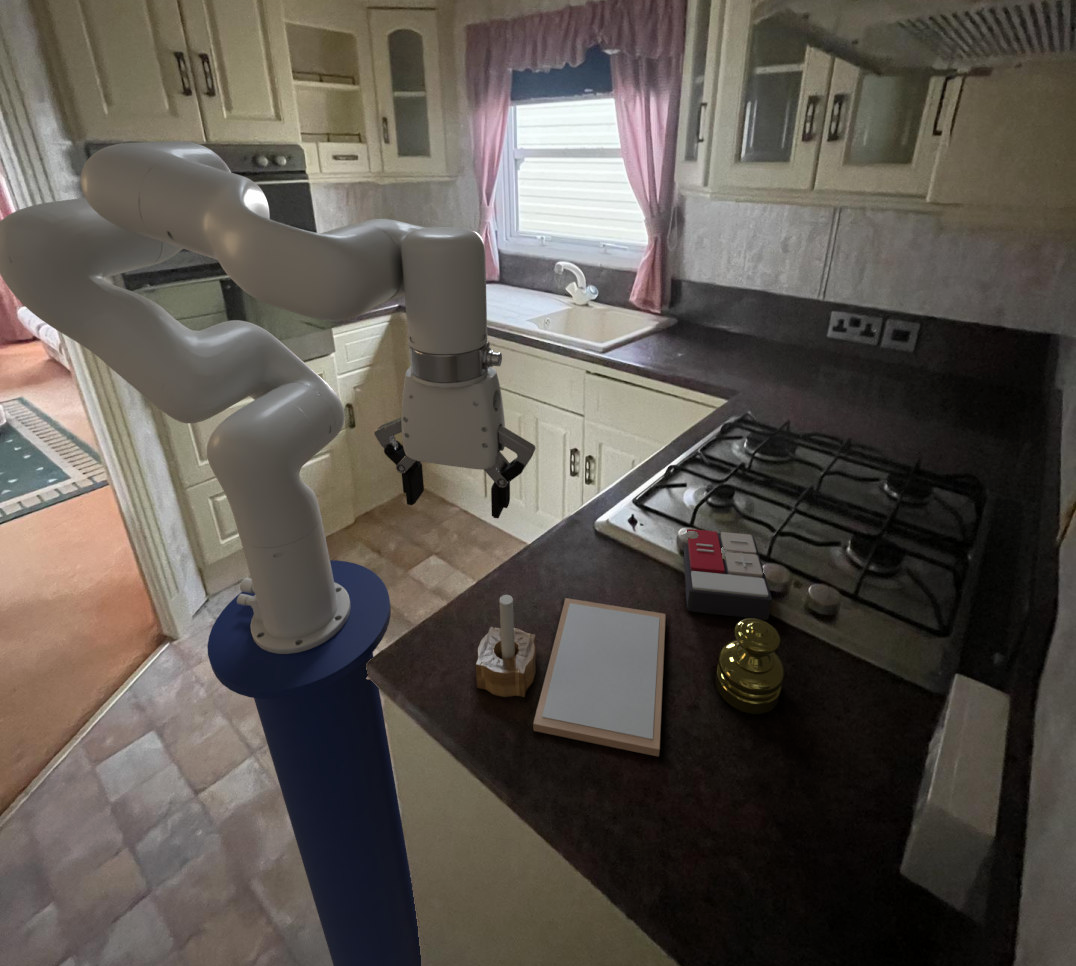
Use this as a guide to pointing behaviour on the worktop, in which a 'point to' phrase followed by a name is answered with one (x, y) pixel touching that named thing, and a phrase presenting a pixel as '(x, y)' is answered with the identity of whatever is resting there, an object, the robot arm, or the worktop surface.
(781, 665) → the brass weight
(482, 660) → the holder
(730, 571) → the calculator
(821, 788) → the worktop surface
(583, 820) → the worktop surface
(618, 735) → the small whiteboard
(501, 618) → the stylus
